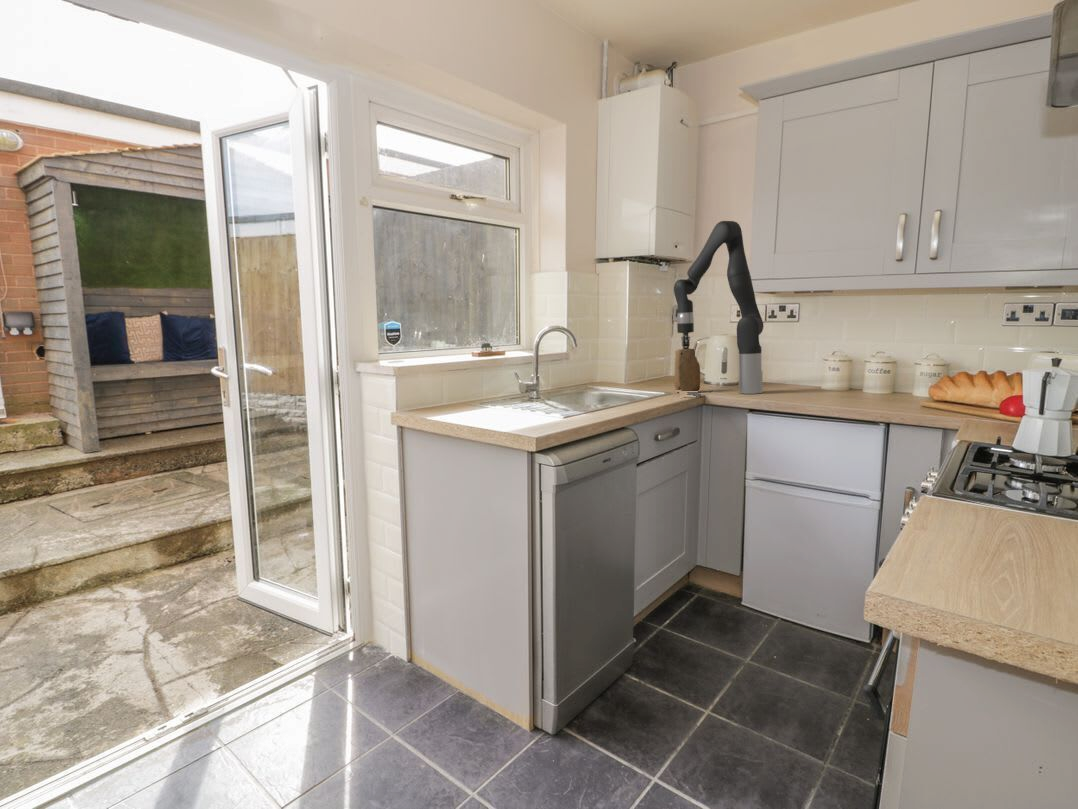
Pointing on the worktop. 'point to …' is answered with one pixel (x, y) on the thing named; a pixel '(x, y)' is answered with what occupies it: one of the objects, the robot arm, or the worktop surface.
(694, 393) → the slate board
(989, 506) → the worktop surface
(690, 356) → the block
